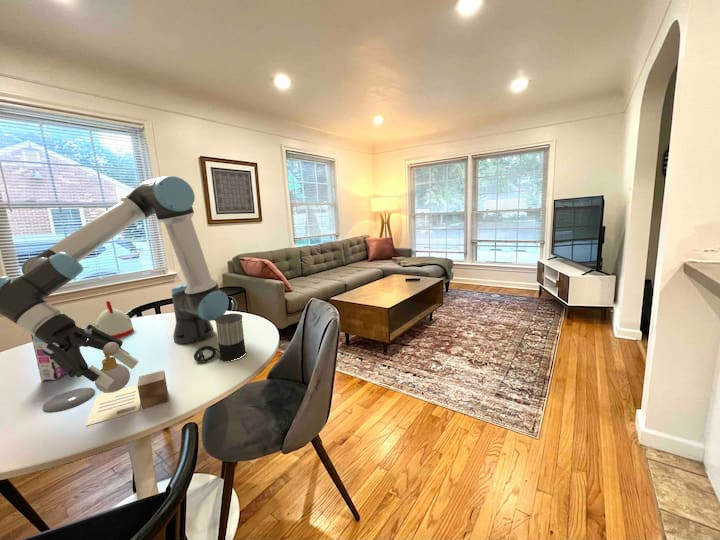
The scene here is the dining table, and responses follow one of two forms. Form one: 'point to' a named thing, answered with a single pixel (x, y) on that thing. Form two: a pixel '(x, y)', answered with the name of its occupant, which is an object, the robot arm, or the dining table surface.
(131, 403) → the letter
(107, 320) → the white and red dome
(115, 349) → the perfume bottle
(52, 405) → the grey smooth round part
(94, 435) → the dining table surface
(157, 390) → the walnut block
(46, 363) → the candy bar box
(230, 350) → the milk frother
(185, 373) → the dining table surface
